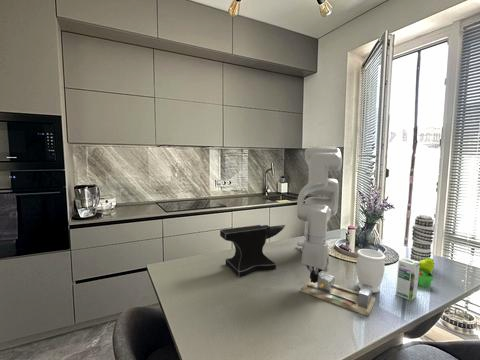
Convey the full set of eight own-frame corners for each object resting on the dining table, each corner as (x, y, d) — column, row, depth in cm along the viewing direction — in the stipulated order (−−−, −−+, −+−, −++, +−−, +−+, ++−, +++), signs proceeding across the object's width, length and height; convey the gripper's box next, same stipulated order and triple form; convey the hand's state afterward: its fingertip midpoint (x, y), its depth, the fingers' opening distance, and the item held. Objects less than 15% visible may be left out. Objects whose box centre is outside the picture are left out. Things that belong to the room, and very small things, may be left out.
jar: (381, 297, 98) (385, 260, 97) (353, 289, 104) (355, 254, 102) (383, 285, 107) (386, 251, 106) (356, 278, 113) (359, 246, 111)
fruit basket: (404, 274, 119) (407, 251, 118) (427, 277, 116) (429, 254, 115) (412, 285, 108) (414, 260, 107) (437, 289, 105) (440, 264, 104)
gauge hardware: (306, 287, 102) (307, 275, 102) (313, 279, 108) (314, 268, 108) (367, 309, 89) (368, 295, 88) (371, 299, 95) (372, 286, 94)
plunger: (313, 293, 98) (314, 280, 97) (321, 284, 105) (322, 272, 104) (326, 297, 95) (327, 285, 94) (333, 288, 102) (334, 276, 101)
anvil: (228, 280, 109) (229, 236, 107) (216, 266, 122) (216, 227, 120) (293, 265, 125) (294, 227, 123) (275, 254, 138) (277, 220, 136)
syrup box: (394, 294, 101) (398, 259, 99) (400, 290, 104) (404, 256, 103) (411, 301, 96) (414, 265, 95) (417, 296, 100) (420, 261, 98)
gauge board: (300, 291, 102) (300, 287, 101) (312, 279, 111) (312, 276, 111) (368, 316, 87) (369, 312, 86) (375, 300, 96) (375, 296, 96)
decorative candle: (407, 263, 131) (412, 216, 128) (410, 257, 138) (414, 213, 135) (429, 268, 125) (435, 219, 122) (431, 262, 132) (436, 216, 129)
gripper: (295, 236, 104) (293, 279, 106) (331, 245, 95) (329, 291, 97) (303, 232, 110) (300, 272, 112) (338, 240, 101) (335, 283, 103)
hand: (314, 281), depth 104 cm, fingers closed
